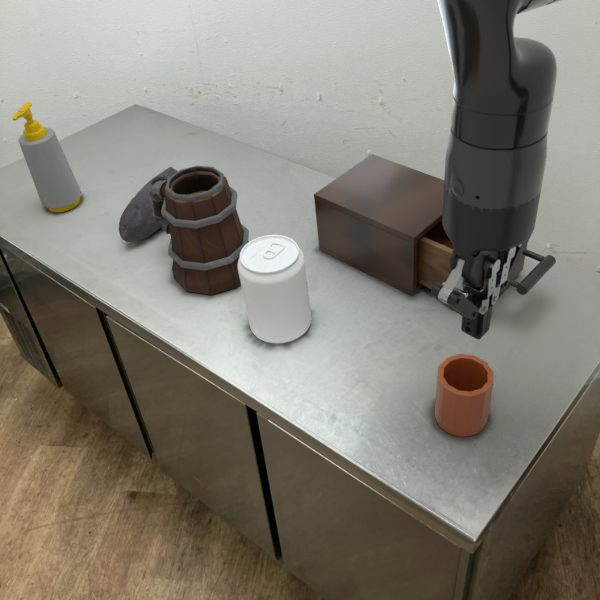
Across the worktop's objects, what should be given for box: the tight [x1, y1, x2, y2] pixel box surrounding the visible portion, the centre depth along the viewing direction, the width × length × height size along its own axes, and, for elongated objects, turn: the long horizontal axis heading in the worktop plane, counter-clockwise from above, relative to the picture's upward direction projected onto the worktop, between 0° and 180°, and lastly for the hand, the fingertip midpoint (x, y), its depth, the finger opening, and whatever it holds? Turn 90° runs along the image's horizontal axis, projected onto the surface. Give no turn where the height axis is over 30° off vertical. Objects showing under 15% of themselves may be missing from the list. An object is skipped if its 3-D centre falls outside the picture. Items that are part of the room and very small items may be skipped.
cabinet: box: [313, 153, 444, 297], centre depth 91 cm, size 17×13×10 cm
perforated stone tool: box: [118, 166, 179, 243], centre depth 102 cm, size 15×5×7 cm, turn 147°
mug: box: [149, 165, 250, 296], centre depth 91 cm, size 16×12×15 cm
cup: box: [434, 353, 495, 437], centre depth 69 cm, size 6×6×7 cm
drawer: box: [417, 220, 557, 296], centre depth 84 cm, size 20×12×8 cm, turn 47°
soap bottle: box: [11, 101, 82, 213], centre depth 106 cm, size 7×7×18 cm
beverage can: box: [238, 234, 312, 344], centre depth 81 cm, size 8×8×12 cm
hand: (475, 331), depth 63 cm, fingers closed
